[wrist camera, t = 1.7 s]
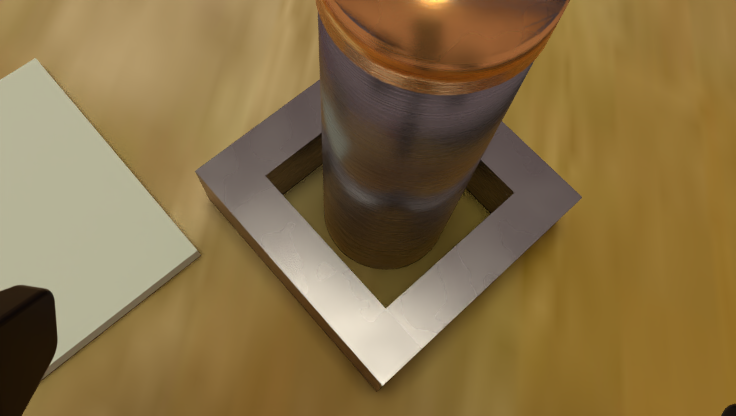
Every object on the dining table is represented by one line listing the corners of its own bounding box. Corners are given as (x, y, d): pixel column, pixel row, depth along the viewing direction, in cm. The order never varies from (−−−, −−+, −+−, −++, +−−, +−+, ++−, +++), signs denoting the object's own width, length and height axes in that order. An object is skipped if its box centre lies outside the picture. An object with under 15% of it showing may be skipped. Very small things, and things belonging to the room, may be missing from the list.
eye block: (556, 221, 23) (582, 197, 21) (376, 391, 20) (382, 385, 18) (390, 61, 25) (397, 22, 23) (209, 198, 22) (195, 170, 20)
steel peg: (470, 216, 23) (631, -38, 11) (380, 296, 22) (444, 114, 9) (387, 132, 24) (447, -186, 12) (297, 204, 23) (257, -68, 10)
